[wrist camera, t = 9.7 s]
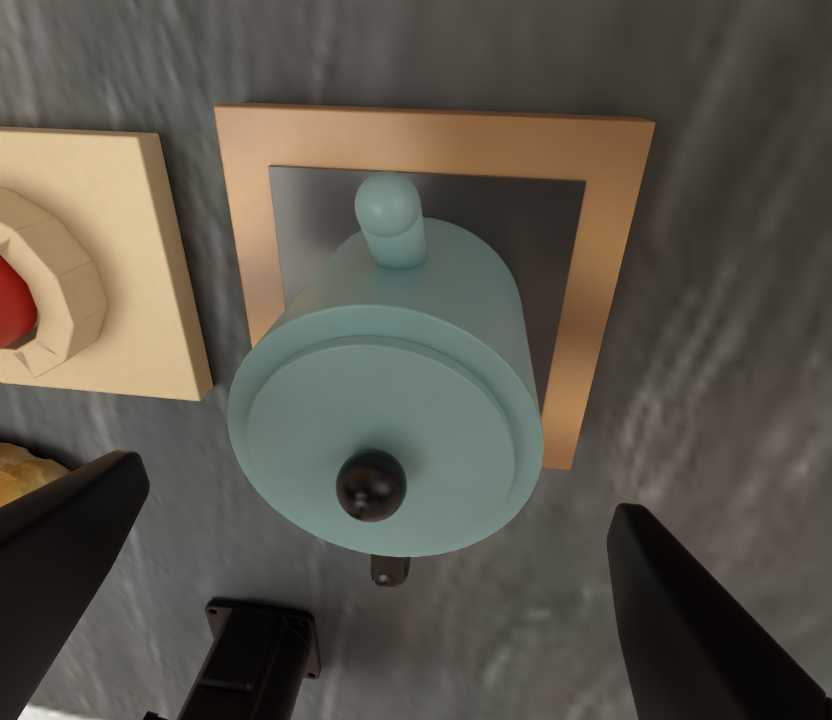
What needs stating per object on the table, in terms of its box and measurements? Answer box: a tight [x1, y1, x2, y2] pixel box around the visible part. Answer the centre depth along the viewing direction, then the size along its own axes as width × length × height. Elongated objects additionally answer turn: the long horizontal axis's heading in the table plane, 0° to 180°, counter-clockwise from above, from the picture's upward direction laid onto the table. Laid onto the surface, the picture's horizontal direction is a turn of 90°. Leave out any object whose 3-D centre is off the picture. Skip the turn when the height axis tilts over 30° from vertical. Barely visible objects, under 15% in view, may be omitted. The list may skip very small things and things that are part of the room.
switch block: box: [0, 126, 213, 401], centre depth 18 cm, size 10×9×3 cm
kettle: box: [227, 171, 544, 589], centre depth 13 cm, size 11×7×8 cm, turn 179°
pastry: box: [0, 443, 72, 507], centre depth 24 cm, size 9×7×4 cm
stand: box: [213, 102, 655, 470], centre depth 17 cm, size 12×12×2 cm
